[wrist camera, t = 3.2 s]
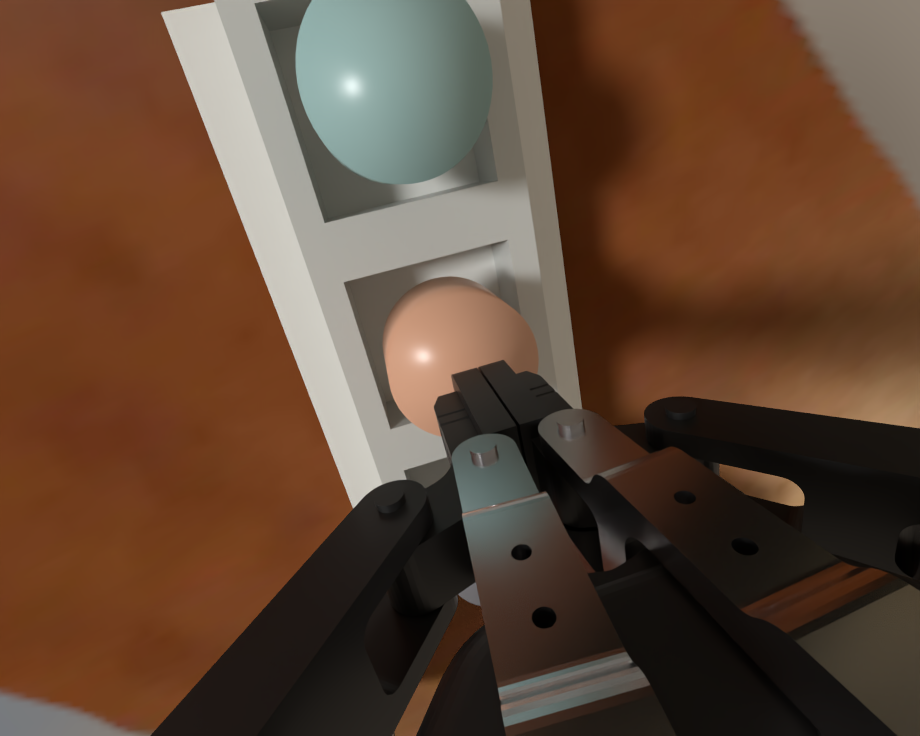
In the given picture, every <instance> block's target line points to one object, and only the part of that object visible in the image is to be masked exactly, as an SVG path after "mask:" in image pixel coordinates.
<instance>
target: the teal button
mask: <svg viewBox="0 0 920 736" xmlns="http://www.w3.org/2000/svg"><path fill="white" fill-rule="evenodd" d="M296 76H297V84H298V89H299V93H300V97H301V101H302V103H303V106H304V109H305V111H306V114H307V116H308V118H309V120H310V122H311V124H312V126H313V128H314V129H315V131H316V133H317V134H318V136H319V137H320V139H321V140H322V142H323V143H324V145H325V146H326V148H327V149H328V150H329V151H330V153H331V154H332V155H333V156H334V157H335V158H336V159H337V160H338V161H339V162H340V163H341V164H342V165H343V166H345V167H346V168H347V169H349V170H350V171H351V172H353V173H355V174H357V175H358V176H360V177H362V178H365V179H367V180H370V181H373V182H377V183H382V184H414V183H420V182H424V181H427V180H430V179H433V178H436V177H438V176H440V175H442V174H444V173H445V172H447V171H448V170H450V169H451V168H453V167H454V166H455V165H457V164H458V163H459V162H460V161H461V160H462V159H463V158H464V157H465V156H466V155H467V154H468V152H469V151H470V150H471V149H472V147H473V146H474V144H475V143H476V141H477V140H478V138H479V136H480V134H481V132H482V130H483V128H484V125H485V122H486V119H487V117H488V113H489V109H490V104H491V98H492V89H493V73H492V63H491V57H490V52H489V48H488V44H487V41H486V38H485V35H484V32H483V30H482V27H481V25H480V23H479V21H478V19H477V17H476V15H475V14H474V12H473V10H472V9H471V7H470V5H469V4H468V3H467V1H466V0H312V1H311V3H310V4H309V6H308V8H307V10H306V12H305V15H304V17H303V20H302V23H301V26H300V30H299V34H298V38H297V46H296Z"/></svg>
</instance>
